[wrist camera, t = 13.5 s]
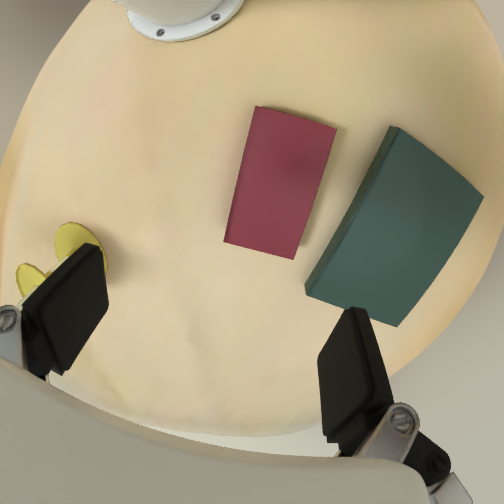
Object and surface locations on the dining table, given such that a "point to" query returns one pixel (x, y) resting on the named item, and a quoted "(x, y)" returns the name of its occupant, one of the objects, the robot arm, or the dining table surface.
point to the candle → (65, 246)
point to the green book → (395, 232)
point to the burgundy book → (277, 182)
